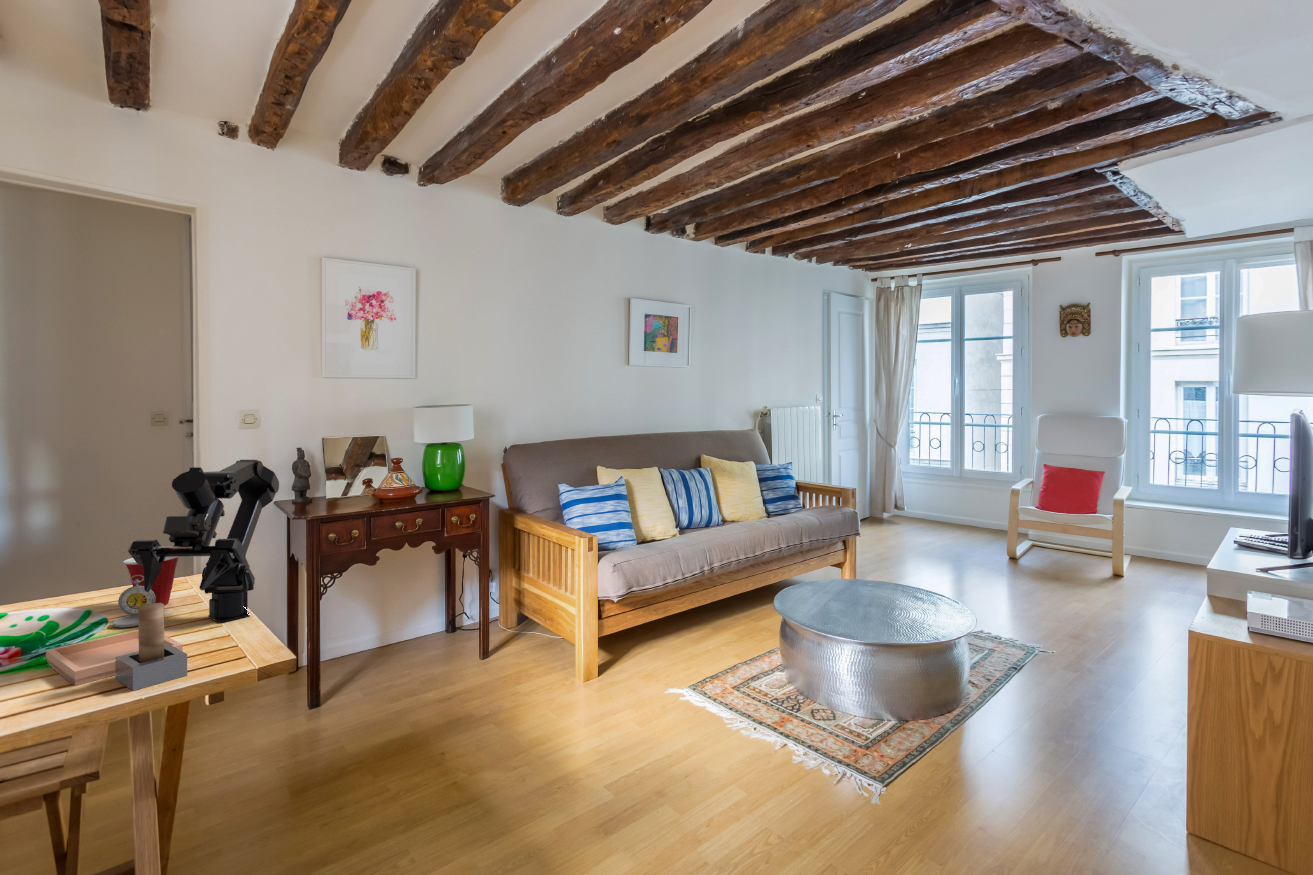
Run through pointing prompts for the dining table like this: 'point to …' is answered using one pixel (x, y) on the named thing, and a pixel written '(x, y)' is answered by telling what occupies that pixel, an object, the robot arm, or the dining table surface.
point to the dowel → (151, 632)
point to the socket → (150, 668)
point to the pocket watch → (128, 599)
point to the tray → (95, 656)
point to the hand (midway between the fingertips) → (174, 590)
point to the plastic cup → (163, 580)
